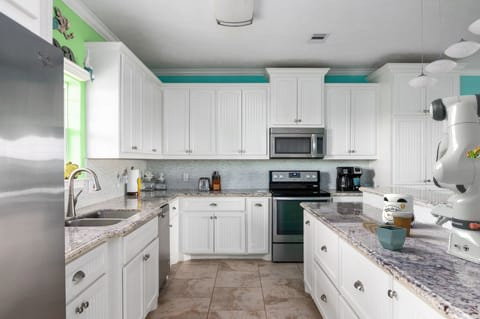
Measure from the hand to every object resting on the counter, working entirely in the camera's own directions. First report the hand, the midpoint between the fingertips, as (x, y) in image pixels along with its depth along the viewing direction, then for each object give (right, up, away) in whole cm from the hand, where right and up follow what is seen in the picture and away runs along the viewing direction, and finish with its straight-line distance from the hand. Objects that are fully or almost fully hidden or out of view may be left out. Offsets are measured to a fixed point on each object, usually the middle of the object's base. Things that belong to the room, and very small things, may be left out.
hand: (437, 224), depth 157 cm
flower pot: (-35, -6, -23) cm, 43 cm away
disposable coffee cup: (-18, -6, 0) cm, 19 cm away
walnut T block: (-22, -6, +9) cm, 25 cm away
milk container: (-7, -6, +25) cm, 27 cm away
